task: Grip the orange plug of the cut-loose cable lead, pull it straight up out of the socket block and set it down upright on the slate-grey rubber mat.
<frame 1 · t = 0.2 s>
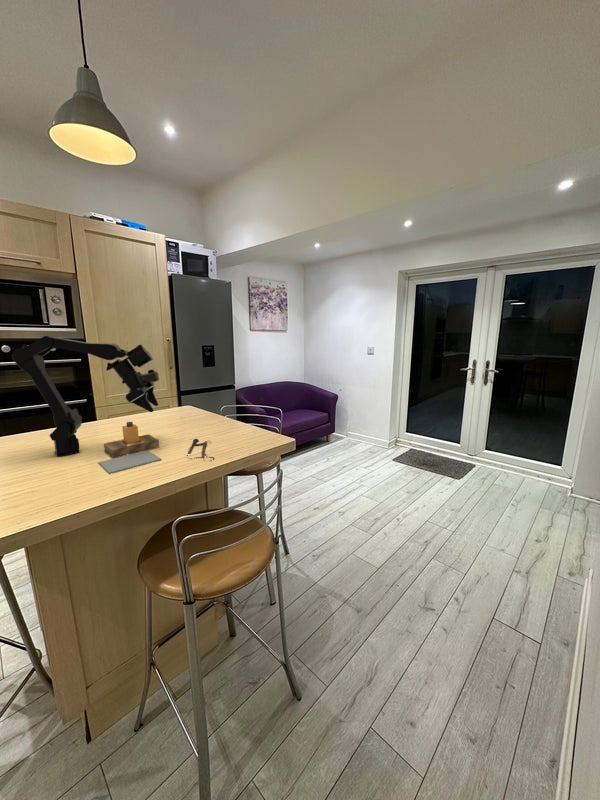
hand: (154, 408, 123), 15 cm above the table, tool tilted 30°, fingers open, 9 cm apart
plug: (130, 435, 120), in the socket block
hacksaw: (202, 451, 120), on the table
mat: (130, 461, 109), on the table
socket block: (132, 449, 121), on the table
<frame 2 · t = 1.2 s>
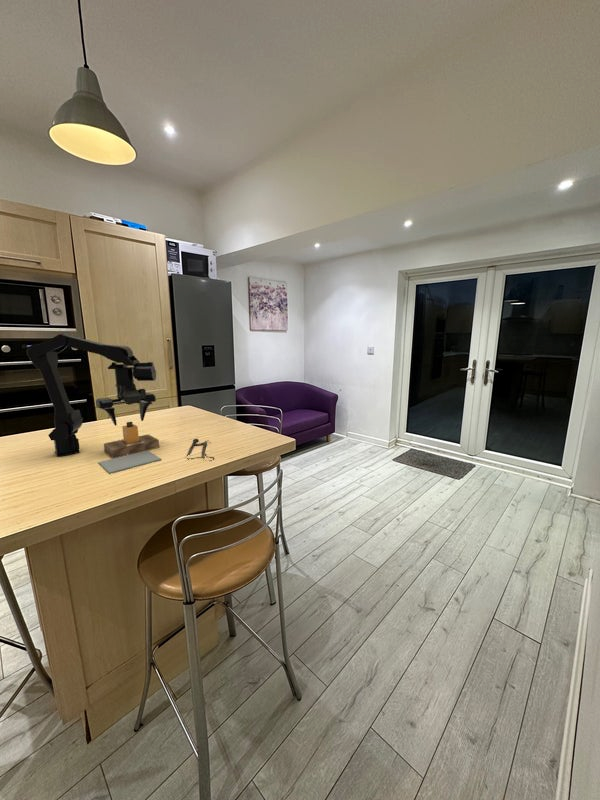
hand: (129, 423, 119), 10 cm above the table, tool pointing down, fingers open, 9 cm apart
nothing on the table moved.
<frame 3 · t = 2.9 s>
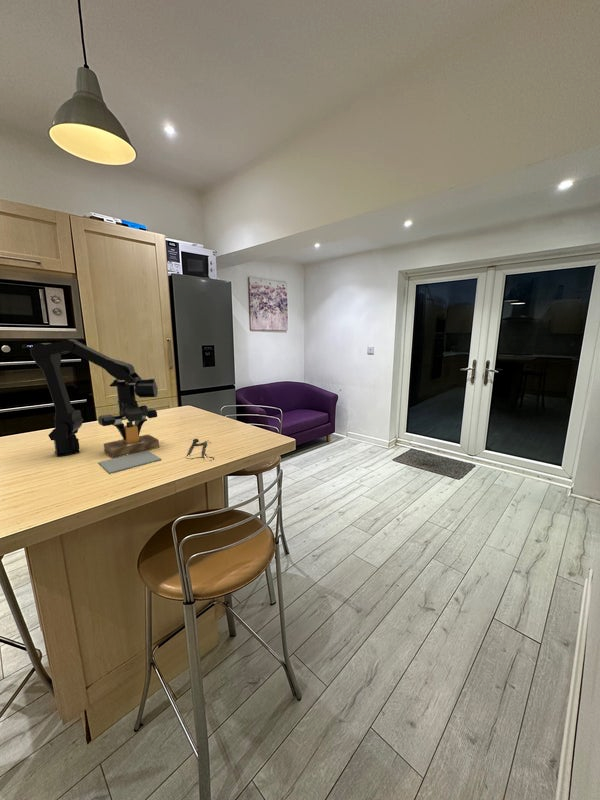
hand: (131, 438, 120), 4 cm above the table, tool pointing down, fingers closed on plug, 4 cm apart
plug: (130, 435, 120), in the socket block, touching gripper
everything else where it was.
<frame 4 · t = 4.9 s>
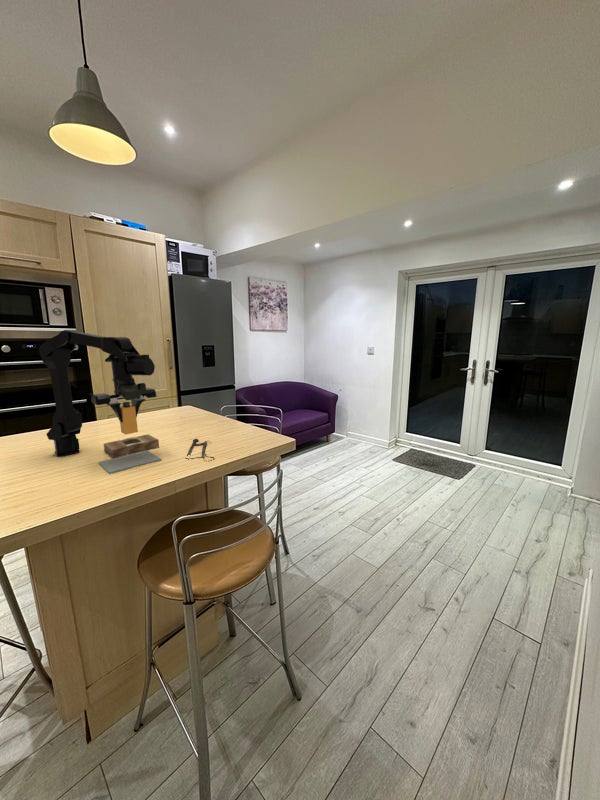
hand: (128, 420, 110), 13 cm above the table, tool pointing down, fingers closed on plug, 4 cm apart
plug: (127, 417, 110), point 15 cm above the table, touching gripper
everything else where it was.
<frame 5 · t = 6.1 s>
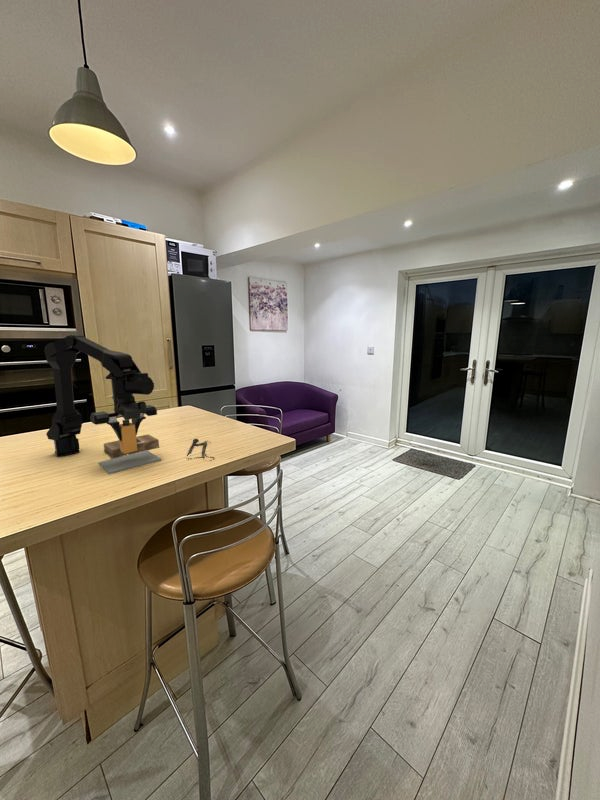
hand: (127, 439, 107), 8 cm above the table, tool pointing down, fingers closed on plug, 4 cm apart
plug: (127, 435, 107), point 9 cm above the table, touching gripper
everything else where it was.
when the fingers open (6 cm above the table, at t = 7.2 s): plug drops 1 cm, resting on mat.
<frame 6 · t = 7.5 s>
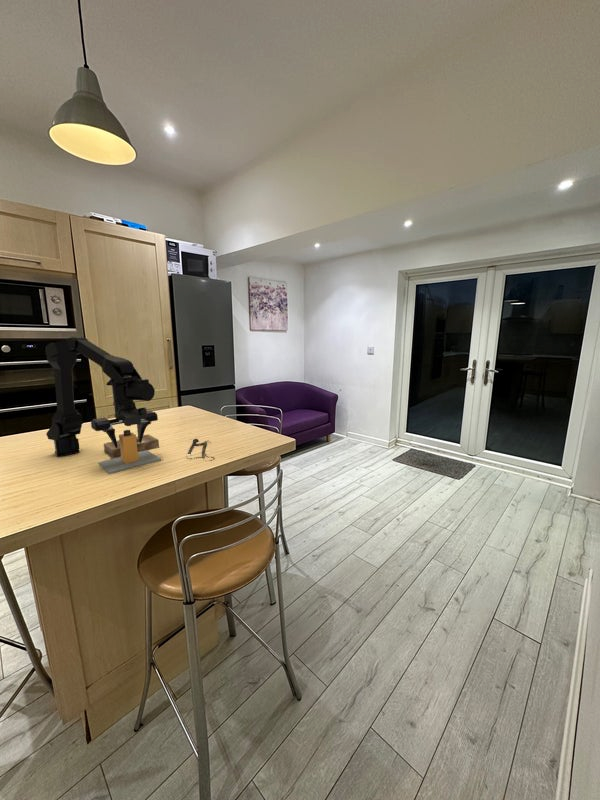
hand: (128, 444, 108), 6 cm above the table, tool pointing down, fingers open, 7 cm apart
plug: (128, 445, 108), on the mat
everything else where it was.
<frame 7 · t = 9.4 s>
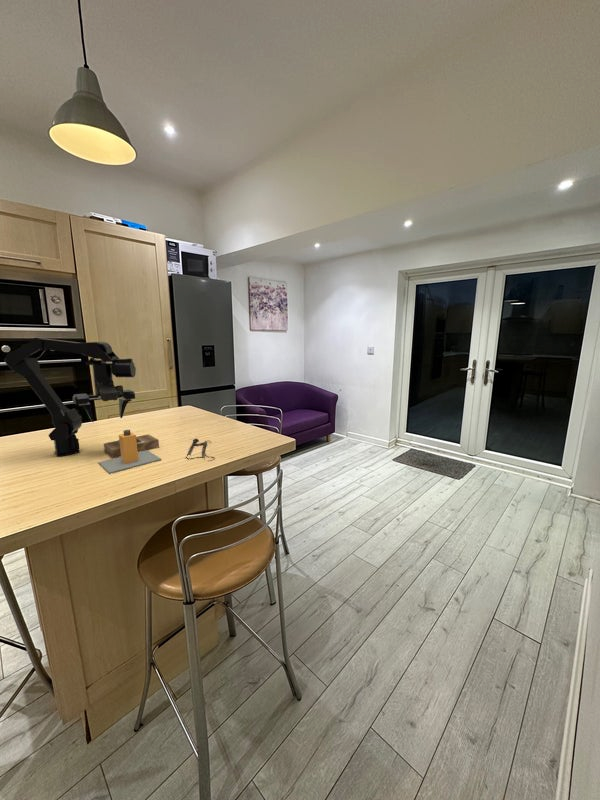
hand: (107, 419, 118), 12 cm above the table, tool pointing down, fingers open, 9 cm apart
nothing on the table moved.
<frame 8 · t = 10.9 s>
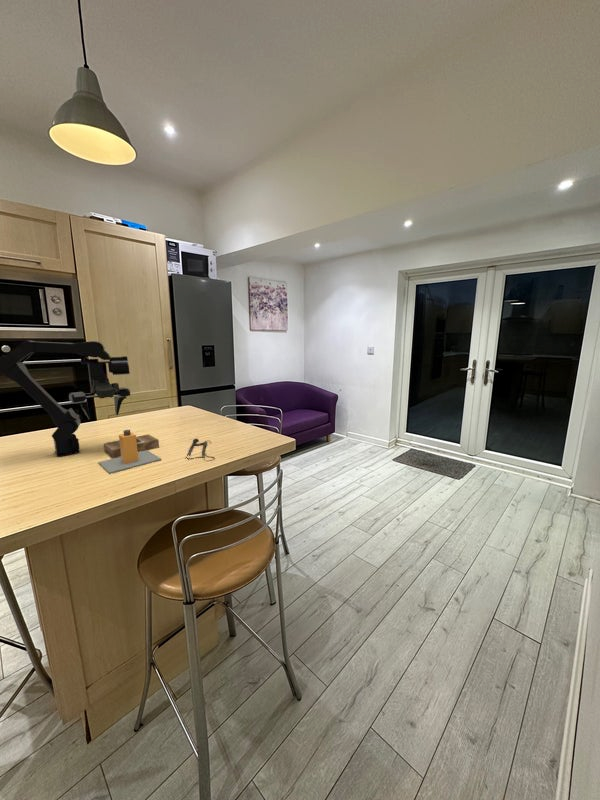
hand: (103, 417, 121), 12 cm above the table, tool pointing down, fingers open, 9 cm apart
nothing on the table moved.
at the end: plug inside the target area on the mat (0.0 cm from its centre), point 5.7 cm above the mat's base; plug tilted 0°; the gripper is holding nothing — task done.
